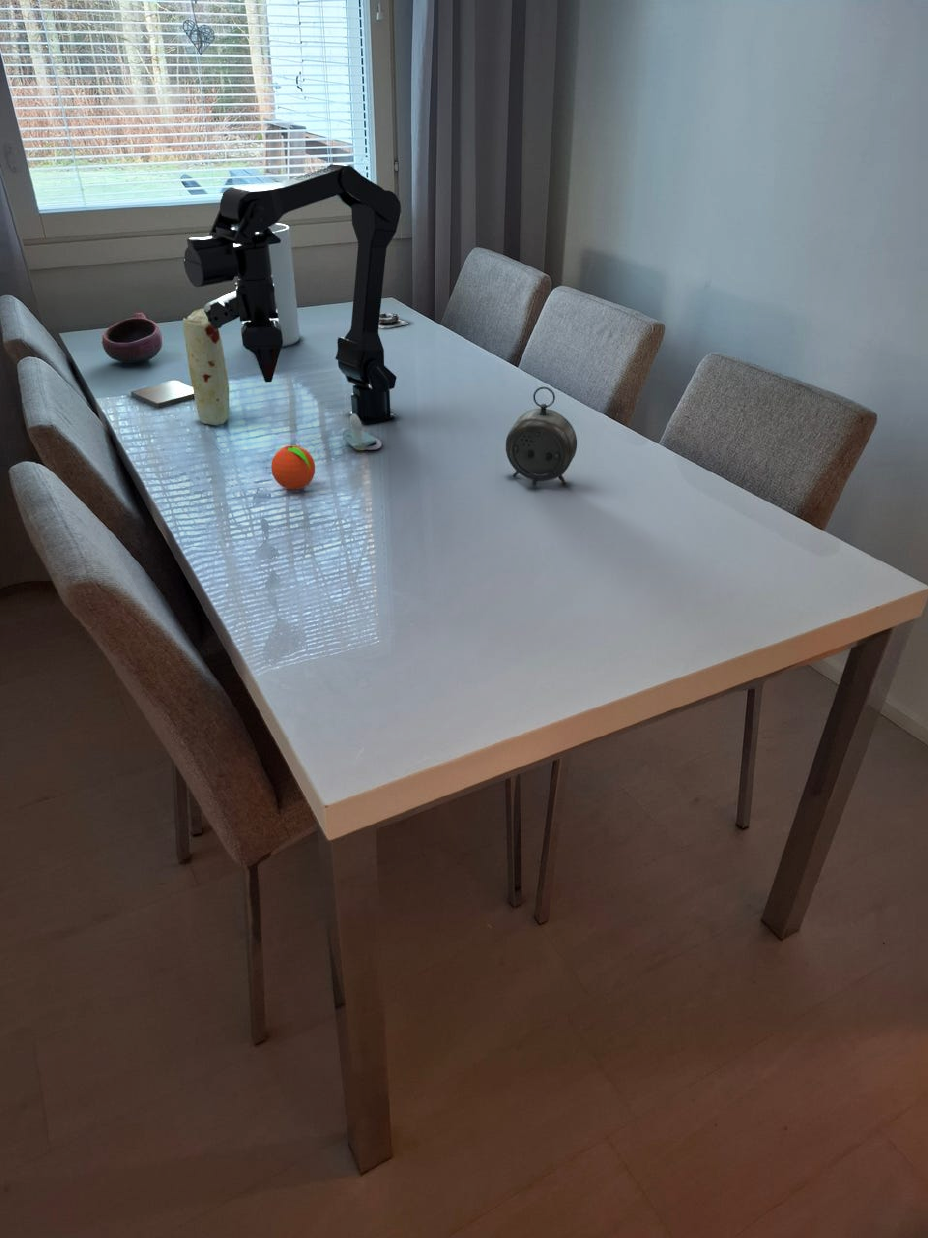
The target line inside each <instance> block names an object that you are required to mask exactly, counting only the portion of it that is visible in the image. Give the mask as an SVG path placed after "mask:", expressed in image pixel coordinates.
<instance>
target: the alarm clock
mask: <svg viewBox="0 0 928 1238" xmlns="http://www.w3.org/2000/svg"><path fill="white" fill-rule="evenodd" d="M544 389H545V390H547V391H549V392H550V393H551V395H552V401H551V402H550V404H548V405H547V404H546V403H541V404H540V403H538V402H537V400H536V395H537V392H539V391H540V390H544ZM532 398H533V402H534V403H535V405H536V406H538V407H540V408H534V409H531V410H528V411H525V412H524V413H523V414H521V415H520V416H519V417H518V418H517V419H516V421H515V422H514V424H513V425H512V427H511V429H510V430H509V431H508V433H507V436H506V440H505V454H506V457H507V459H508V461H509V463H510V465H511V467H512V468H513V469H514V470H515V471H514V473H512V477H513V478H516V477H517V475H519V474H520V475H521V476H522V477H524V478H526V479H528V480H532V484H531V488H532V489H534V490H535V489H536V488H537V486H538V485H537V484H538V482H549V481H552V480H555V479H558V480H559V481H561V483H562V485H563V486H566V485H567V481H566V480H565V478H564V477H565V476H563V475H564V473H566V471H567V470H568V469H569V467H570V465H571V463H572V462H573V460H574V458H575V456H576V453H577V449H578V437H577V433H576V431H575V429H574V427H573V425H572V424H571V422H570V421H569V420H568V419H567V418H566V417H565V416H563V415H562V414H561V413H559V412H557V411H555V410H552V409H548V408H549V407H551V406H552V405H554V403H555V400H556V395H555V392H554V391H553V390H552V388H550V387H548V386H545V385H544V386H539V387H537V388H536V389H535V391H534V392H533V396H532Z"/></svg>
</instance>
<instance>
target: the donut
mask: <svg viewBox="0 0 928 1238" xmlns="http://www.w3.org/2000/svg"><path fill="white" fill-rule="evenodd" d="M408 324H409V322H406V321H404V320H401V319H399V315H398V313H393V312H384V313H380V317H379V327H378V328H381V329H389V328H394V327H399V326H404V325H408Z"/></svg>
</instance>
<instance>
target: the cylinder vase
mask: <svg viewBox="0 0 928 1238" xmlns="http://www.w3.org/2000/svg"><path fill="white" fill-rule="evenodd" d="M269 228H270V230H271V231H272V232H273V233H274V234H275V235H276V236H278V237H279V238H280V239H281V242H280V243H277V244H271V245H269V251H270V259H271V268H272V276H273V283H274V290H275V300H276V304H277V310H278V322H279V323H278V324H279V325H280V326H281V330H282V337H283V346H282V348H284V347H289V346H291V345H294V344H296V343H297V342H298V341H299V340H300V338H301V337H300V335H301V334H300V324H299V315H298V305H297V293H296V285H295V283H296V282H295V273H294V263H293V253H292V242H291V234H290V233H291V232H290V226H289V225H286V224H283V223H278V222H277V223H275V224H274V225H272V226H270V227H269ZM231 229H232V230H236V231H237V230H238V229H237V228H233V227H231Z"/></svg>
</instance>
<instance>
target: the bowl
mask: <svg viewBox="0 0 928 1238" xmlns="http://www.w3.org/2000/svg"><path fill="white" fill-rule="evenodd" d="M101 339H102V340H101V344H102V349H103V351H104V352H105V354H106V355H107V356H109V357H110V358H111V359H113V360H116V361H118V362H121V363H125V364H126V363H127V364H139V363H145V362H147V361H149V360H151V359H153V358H154V357H155V356H157V355H158V354H159V353H160V351H161V350H162V347H163V344H164V343H163V334H162V331H161V329H160V327H159V325H158V324H157V323H156V322H154V321H152V320H150V319H148V318H147V316H146V315H145V314H144V313H143V312H136V313H134V314H133V316H132V317H131V318H127V319H124V320H122V321H119V322H117V323H115V324H113V325H111V326H109V327H108V328H106V330H105V331H104V333H103V334H102V338H101Z"/></svg>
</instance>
